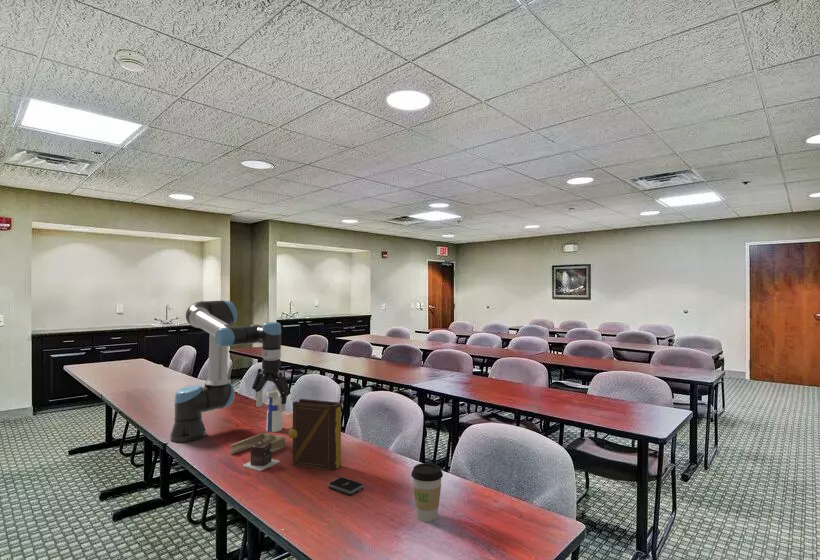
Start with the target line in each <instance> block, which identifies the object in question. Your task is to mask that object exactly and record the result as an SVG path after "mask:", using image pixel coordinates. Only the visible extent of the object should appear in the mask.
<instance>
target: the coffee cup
mask: <svg viewBox="0 0 820 560" xmlns="http://www.w3.org/2000/svg"><path fill="white" fill-rule="evenodd" d="M443 476H444V474H443V471H442V469H441V466H440V465H438V464H435V463H433V462H432V463H430V462H423V463H418V464H415V466H413V468H412V470H411V477H412V487H413V494H414V505H415V509H416V515H417V516H416V517H417V520H419V521H420V522H423V523H432V522H434V521H436V520H437V519H438V511H439V506H440V499H441V489H442V478H443Z"/></svg>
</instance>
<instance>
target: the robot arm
mask: <svg viewBox="0 0 820 560" xmlns="http://www.w3.org/2000/svg"><path fill="white" fill-rule="evenodd" d="M237 311H238V310H237V308H236V306H235V304H234V303H233V302H232V301H230V300H207V301H206V300H203V301H202V300H201V301H197V302H195V303H193V304H191V305H190V306H189V307H188V308H187V309H186V311H185V320H186V322H187V323H188V324H189V325H190V326H191V327H193V328H196V329H197V328H198V329H200V330H203V331H204V332H206V333H208V334H209V340H208V341H209V343H208V344H209V349H208V373H207V374H208V376H207V380H205V382H204V387H202V385H200V384H194V385H187V386H185V387H182V388H180V389H178V390H176V392H175V394H174V424H173V426H172V428H171V432H170V437H169V439H170V441H172V442H175V443H187V442H194V441H197V440H200V439H202V438H204V437H205V436H207V434H206V433H207V430H206V427H205V425H204V421H203V413H205V412H209V411H215V410H221V409H224V408H228V407H229V406H230V405H231V404H233V401H234V400H235V399H234V398H235V389H234V385H233V383H231V381H230V380H229V379H228V353H229V352H228V351H229V349H228V348H229V347H231V346H239V345H247V344H248V345H249V344H257V343H258V344H262V348H261V349H262V352H261V353H262V355H261V358H262V360H261V368H258V369H257V373H256V376H255V379H254V382H253V383H252V388H251V389H252V390H255V400H256V402H255V403H256V404H255V407H256V408H260V407H262V406H263V396H264V395H263V393H264V391H263V388H264V386H265V384H267V382H272V383H273V384H274V385H275V387H277V388H276V389H278V391H279V393H280V394H281V396H279V412H282V413H283V412H286V404H287V396H289V395H291V390H290V386H289V384H288V381H287V378H286V372H285V371H280V368H281V364H282V363H281V362H282V361H281V356H282V351H281V350H282V348H281V347H282V325H281V323H280V322H274V321H268V322H264V323H263V324H262V325H260V324H251V325H246V326H233V324H235V323H237V320H238V312H237Z"/></svg>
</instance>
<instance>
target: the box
mask: <svg viewBox="0 0 820 560" xmlns="http://www.w3.org/2000/svg"><path fill="white" fill-rule="evenodd" d="M271 459H272V453H271V443H265V442H258V443H256V444H254V445H253V446H251V447H250V462H251V465H257V466H265V465H266V464H268V463H269V462H270V461H271Z"/></svg>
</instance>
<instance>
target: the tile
mask: <svg viewBox="0 0 820 560" xmlns="http://www.w3.org/2000/svg"><path fill="white" fill-rule="evenodd" d="M279 463H281V461H280V460H278V459H273V458H271V461H270V462H269V463H268V464H266V465H265V466H257V465H251V461H249V462H246V463H244V464H242V467H244V468H247V469H251V470H254V471H258V472H262V470H263V471H265V470H267V469H269V468H271V467H274V466H275V465H278V464H279ZM268 467H269V468H268ZM266 468H267V469H266ZM264 469H265V470H264Z"/></svg>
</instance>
